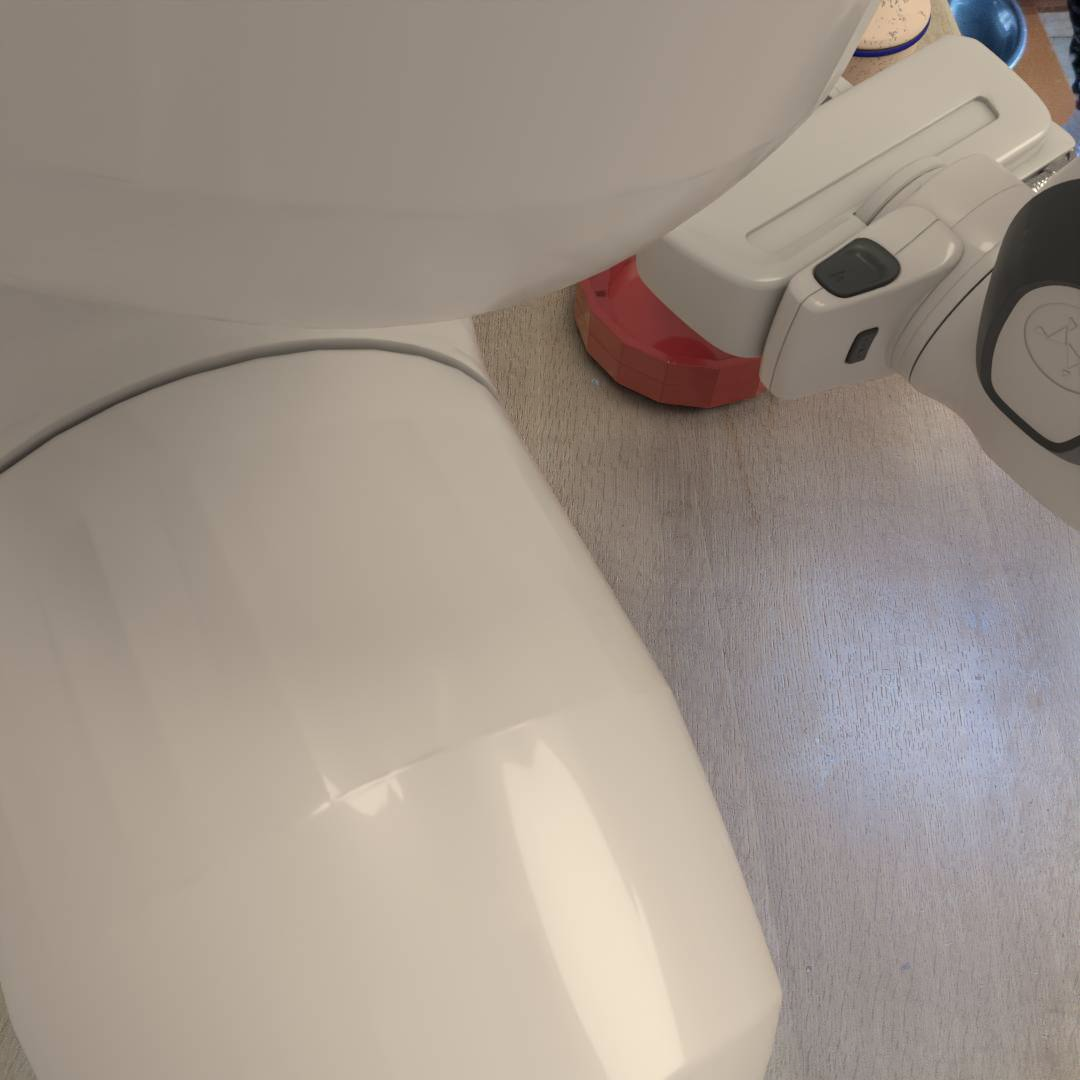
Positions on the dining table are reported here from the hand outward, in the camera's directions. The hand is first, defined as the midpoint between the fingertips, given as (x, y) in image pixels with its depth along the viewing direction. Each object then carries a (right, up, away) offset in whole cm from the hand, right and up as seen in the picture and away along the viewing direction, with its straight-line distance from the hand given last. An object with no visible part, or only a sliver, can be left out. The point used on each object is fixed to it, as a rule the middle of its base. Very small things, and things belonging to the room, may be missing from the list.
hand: (729, 83), depth 50 cm
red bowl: (0, -8, +14) cm, 17 cm away
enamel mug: (+9, +8, +23) cm, 26 cm away
